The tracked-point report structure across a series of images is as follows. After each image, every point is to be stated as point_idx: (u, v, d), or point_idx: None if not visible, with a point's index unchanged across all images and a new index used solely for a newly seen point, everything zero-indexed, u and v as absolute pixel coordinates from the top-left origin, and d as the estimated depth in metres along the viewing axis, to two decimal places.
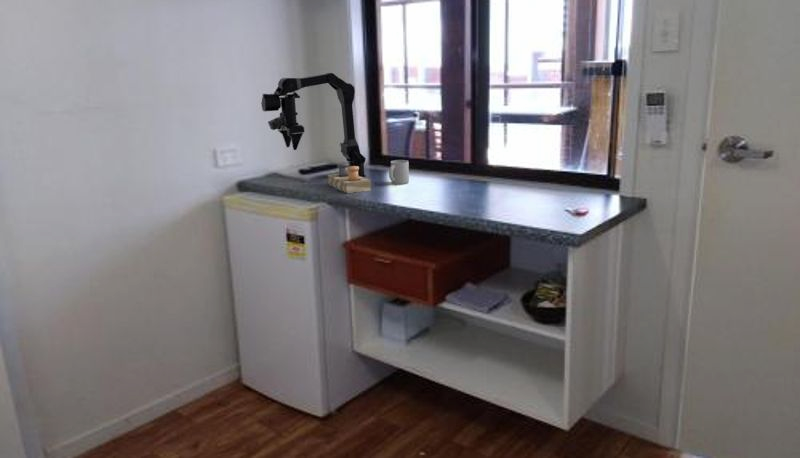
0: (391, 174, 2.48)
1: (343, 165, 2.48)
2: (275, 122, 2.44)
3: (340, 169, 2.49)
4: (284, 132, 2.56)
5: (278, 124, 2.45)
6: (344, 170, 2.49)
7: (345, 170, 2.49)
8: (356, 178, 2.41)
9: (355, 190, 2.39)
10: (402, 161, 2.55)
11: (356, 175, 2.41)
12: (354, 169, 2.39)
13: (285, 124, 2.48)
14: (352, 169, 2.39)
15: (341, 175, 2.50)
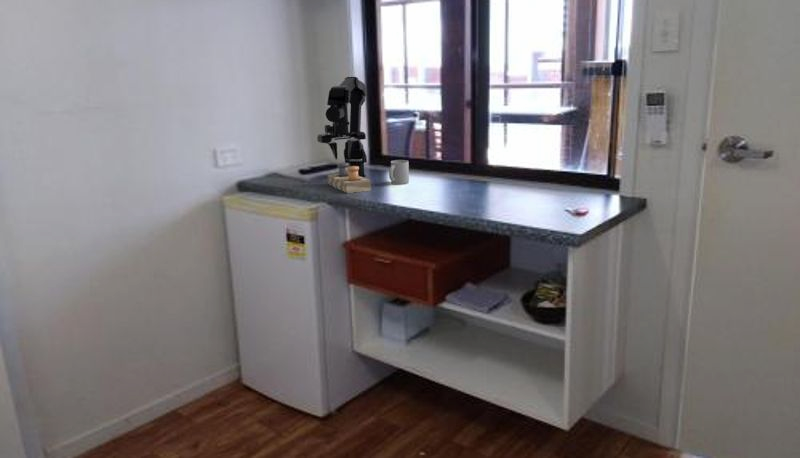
0: (391, 174, 2.48)
1: (343, 165, 2.48)
2: (325, 129, 2.50)
3: (340, 169, 2.49)
4: (348, 142, 2.50)
5: (326, 131, 2.50)
6: (344, 170, 2.49)
7: (345, 170, 2.49)
8: (356, 178, 2.41)
9: (355, 190, 2.39)
10: (402, 161, 2.55)
11: (356, 175, 2.41)
12: (354, 169, 2.39)
13: (332, 132, 2.48)
14: (352, 169, 2.39)
15: (341, 175, 2.50)
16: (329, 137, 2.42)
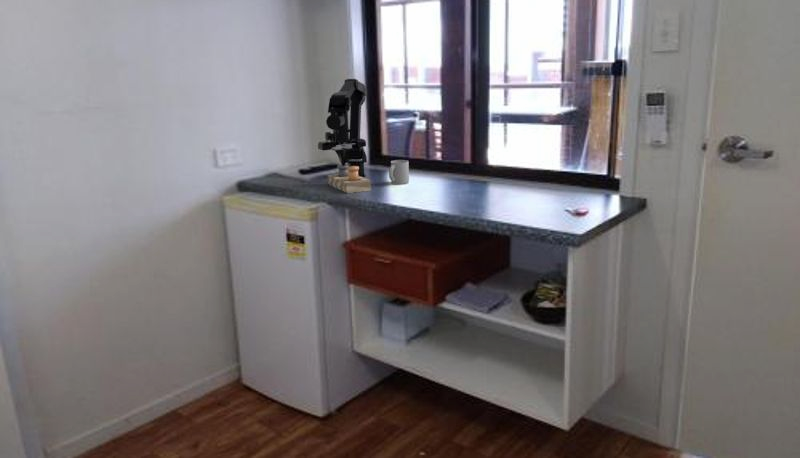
0: (391, 174, 2.48)
1: (343, 167, 2.48)
2: (325, 136, 2.51)
3: (340, 171, 2.49)
4: (343, 150, 2.49)
5: (326, 138, 2.50)
6: (344, 172, 2.49)
7: (345, 172, 2.49)
8: (356, 178, 2.41)
9: (355, 190, 2.39)
10: (402, 161, 2.55)
11: (356, 175, 2.41)
12: (354, 169, 2.39)
13: (332, 140, 2.48)
14: (352, 169, 2.39)
15: None
16: (330, 144, 2.42)
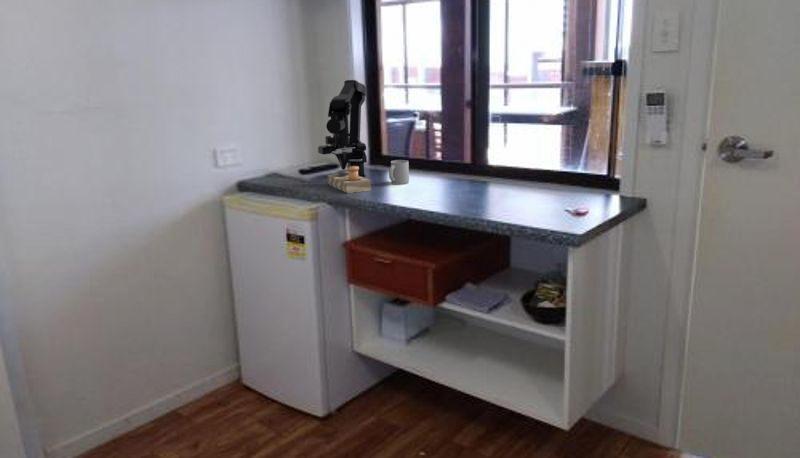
0: (391, 174, 2.48)
1: (343, 173, 2.49)
2: (325, 140, 2.52)
3: (340, 176, 2.50)
4: None
5: (326, 142, 2.51)
6: None
7: None
8: (356, 178, 2.41)
9: (355, 190, 2.39)
10: (402, 161, 2.55)
11: (356, 175, 2.41)
12: (354, 169, 2.39)
13: (332, 144, 2.49)
14: (352, 169, 2.39)
15: None
16: (330, 148, 2.43)
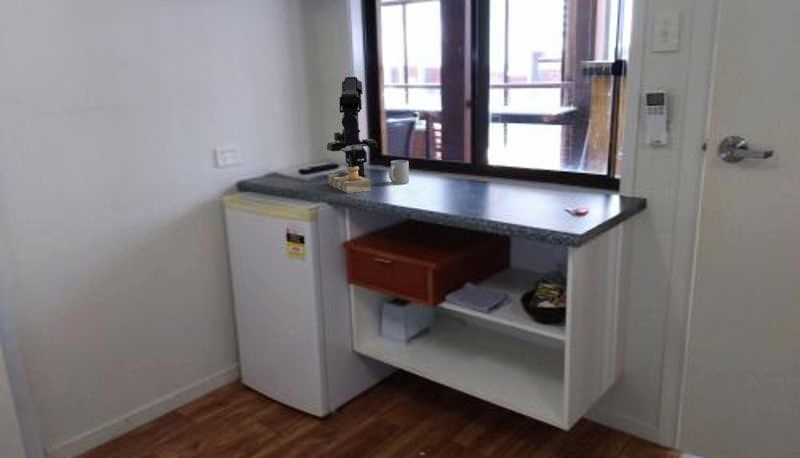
0: (391, 174, 2.48)
1: (343, 173, 2.49)
2: (334, 136, 2.42)
3: (340, 176, 2.50)
4: (352, 151, 2.41)
5: (335, 139, 2.42)
6: None
7: None
8: (356, 178, 2.41)
9: (355, 190, 2.39)
10: (402, 161, 2.55)
11: (356, 175, 2.41)
12: (354, 169, 2.39)
13: (342, 140, 2.40)
14: (352, 169, 2.39)
15: None
16: (339, 145, 2.34)
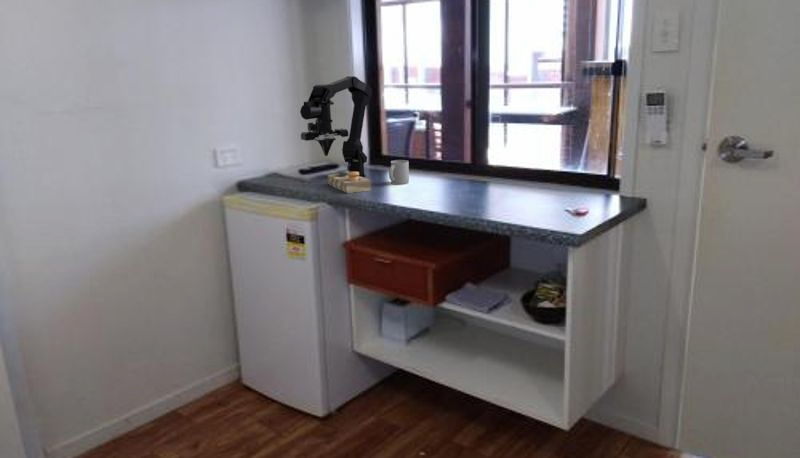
0: (391, 174, 2.48)
1: (343, 173, 2.49)
2: (308, 126, 2.53)
3: (340, 176, 2.50)
4: (325, 140, 2.52)
5: (309, 129, 2.53)
6: None
7: None
8: None
9: (355, 190, 2.39)
10: (402, 161, 2.55)
11: (356, 180, 2.42)
12: (354, 175, 2.40)
13: (315, 130, 2.51)
14: (352, 175, 2.40)
15: None
16: (313, 135, 2.45)
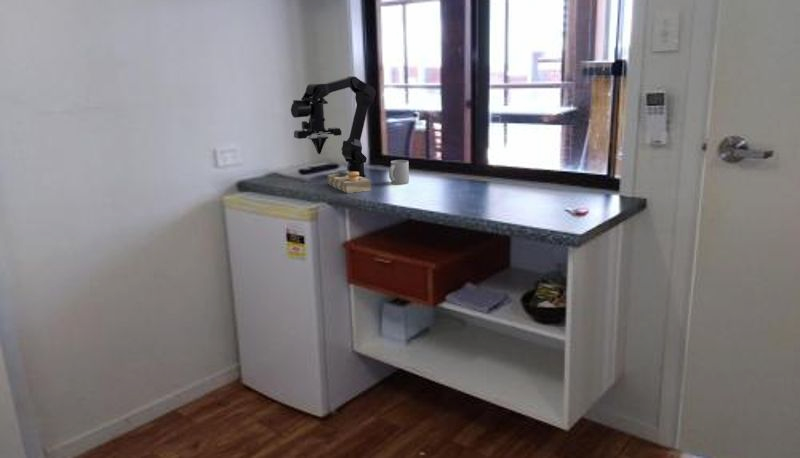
0: (391, 174, 2.48)
1: (343, 173, 2.49)
2: (302, 125, 2.57)
3: (340, 176, 2.50)
4: (318, 139, 2.55)
5: (302, 127, 2.56)
6: None
7: None
8: None
9: (355, 190, 2.39)
10: (402, 161, 2.55)
11: (356, 180, 2.42)
12: (354, 175, 2.40)
13: (308, 128, 2.54)
14: (352, 175, 2.40)
15: None
16: (305, 133, 2.48)
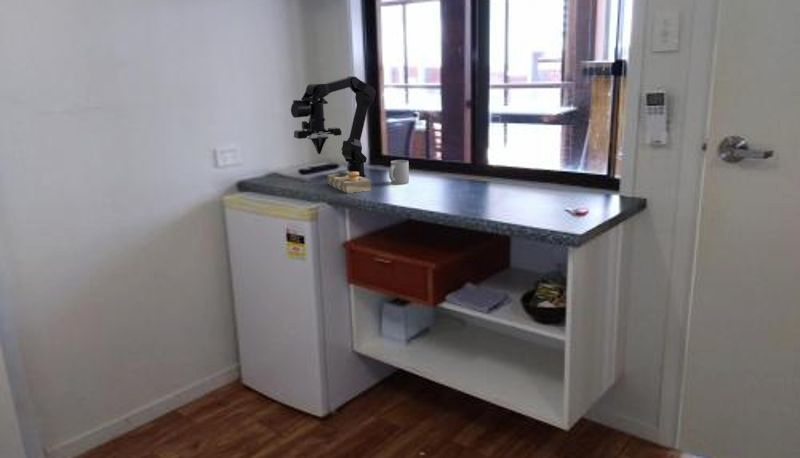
0: (391, 174, 2.48)
1: (343, 173, 2.49)
2: (302, 125, 2.57)
3: (340, 176, 2.50)
4: (318, 139, 2.55)
5: (302, 127, 2.56)
6: None
7: None
8: None
9: (355, 190, 2.39)
10: (402, 161, 2.55)
11: (356, 180, 2.42)
12: (354, 175, 2.40)
13: (308, 128, 2.54)
14: (352, 175, 2.40)
15: None
16: (305, 133, 2.48)
